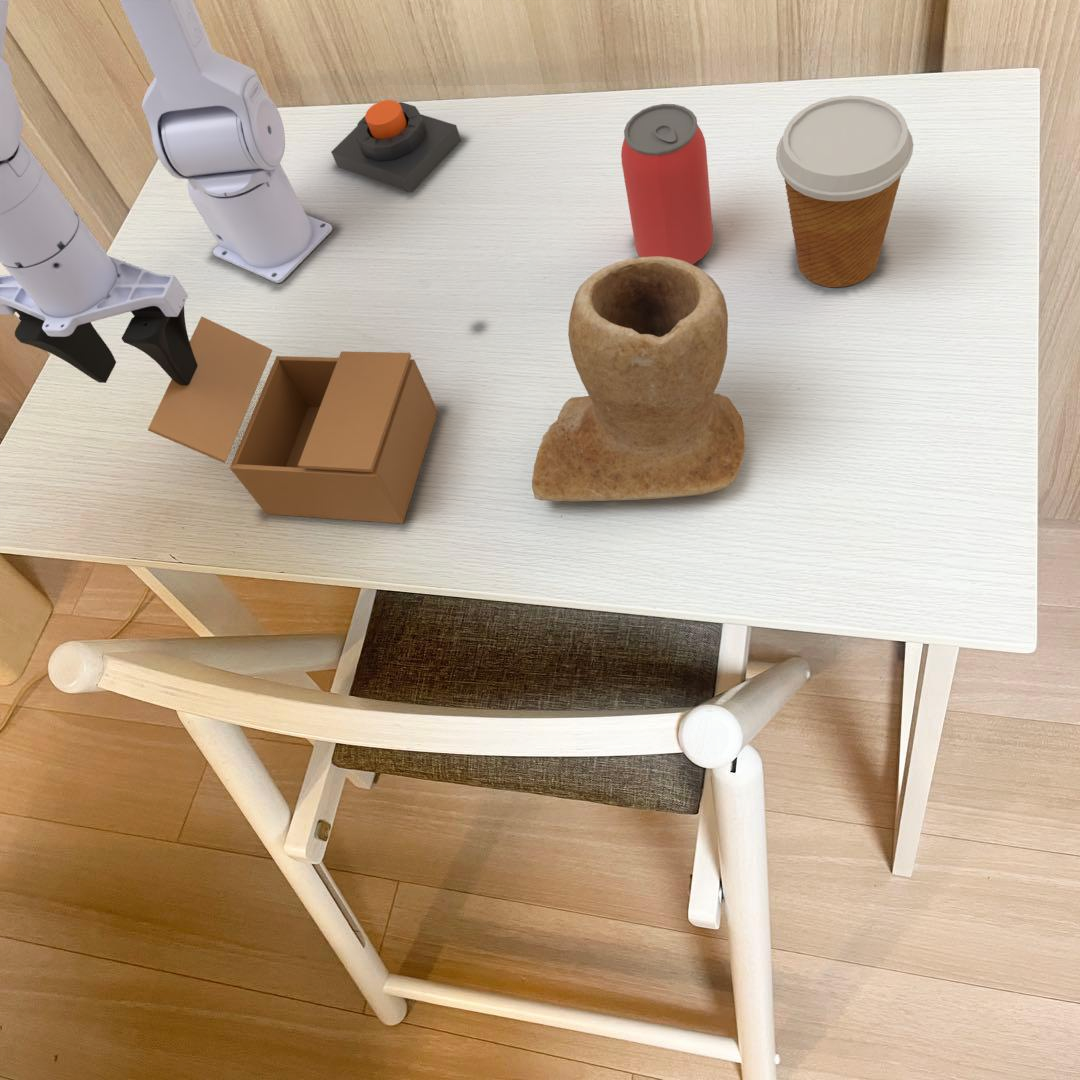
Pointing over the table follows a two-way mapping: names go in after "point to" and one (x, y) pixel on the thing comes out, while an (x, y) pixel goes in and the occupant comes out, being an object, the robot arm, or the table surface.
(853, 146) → the disposable coffee cup
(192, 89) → the robot arm
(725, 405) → the stone cup
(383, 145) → the button box
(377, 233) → the table surface
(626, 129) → the beer can
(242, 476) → the carton
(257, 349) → the flap
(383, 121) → the button
